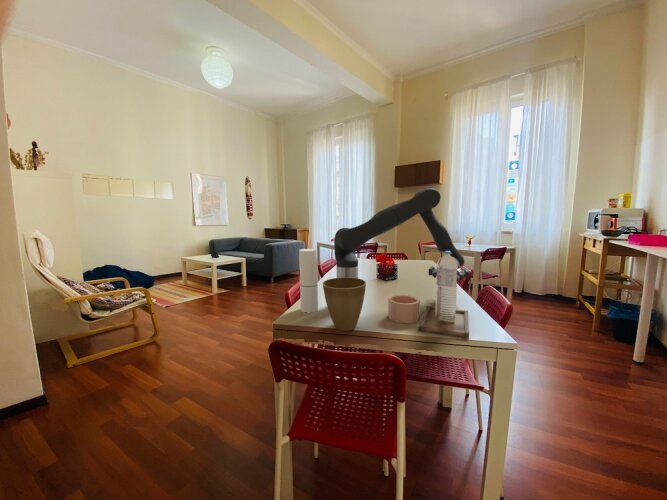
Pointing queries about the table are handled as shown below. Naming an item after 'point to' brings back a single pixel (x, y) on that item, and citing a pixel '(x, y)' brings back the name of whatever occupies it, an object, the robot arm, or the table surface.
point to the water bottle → (446, 289)
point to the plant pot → (344, 301)
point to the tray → (445, 324)
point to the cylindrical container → (308, 280)
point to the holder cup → (403, 308)
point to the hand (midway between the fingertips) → (447, 276)
